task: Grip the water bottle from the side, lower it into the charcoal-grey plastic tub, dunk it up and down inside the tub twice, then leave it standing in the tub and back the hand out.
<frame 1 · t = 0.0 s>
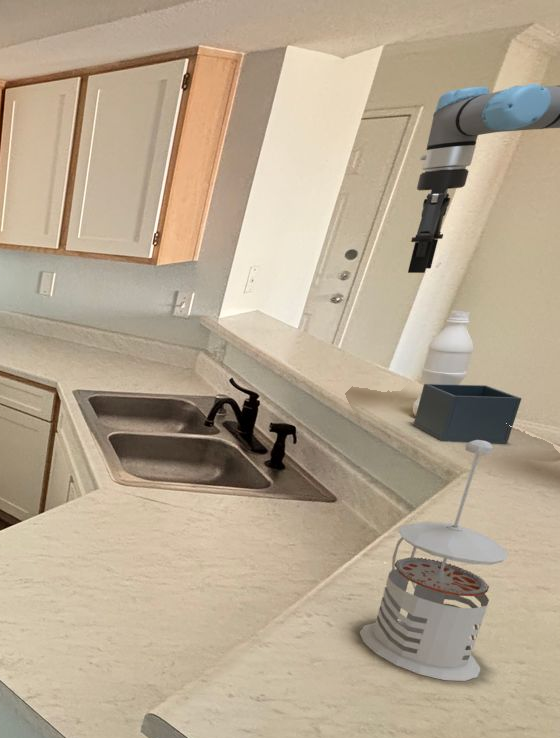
hand: (419, 270, 133), 34 cm above the counter, tool pointing down, fingers open, 13 cm apart
tub: (457, 434, 127), on the counter
water bottle: (430, 419, 138), on the counter
french press: (412, 646, 66), on the counter
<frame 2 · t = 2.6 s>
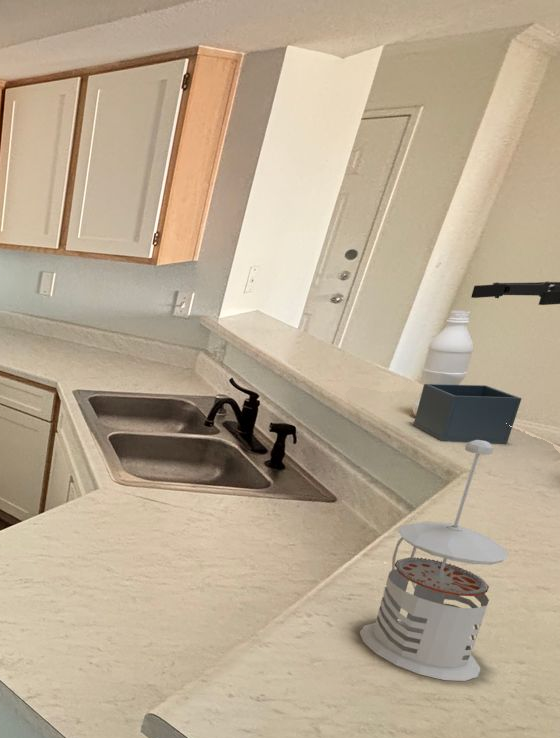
hand: (506, 294, 129), 28 cm above the counter, tool horizontal, fingers open, 13 cm apart
nothing on the counter moved.
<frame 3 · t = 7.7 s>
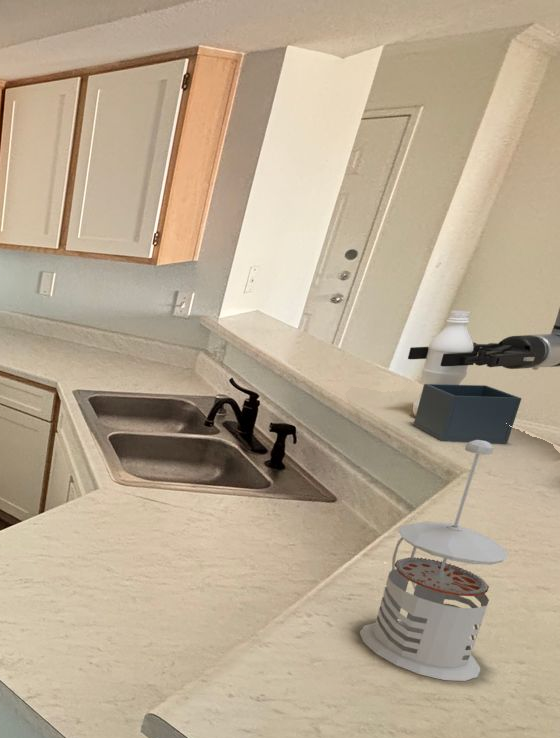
hand: (426, 356, 133), 15 cm above the counter, tool horizontal, fingers closed on water bottle, 7 cm apart
water bottle: (430, 419, 138), on the counter, touching gripper
everything else where it was.
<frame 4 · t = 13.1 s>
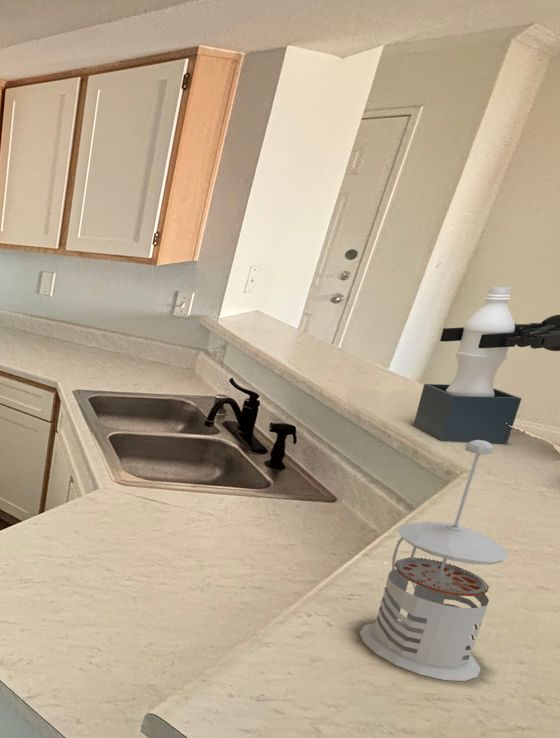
hand: (462, 338, 121), 21 cm above the counter, tool horizontal, fingers closed on water bottle, 7 cm apart
water bottle: (465, 407, 125), point 6 cm above the counter, touching gripper
everything else where it was.
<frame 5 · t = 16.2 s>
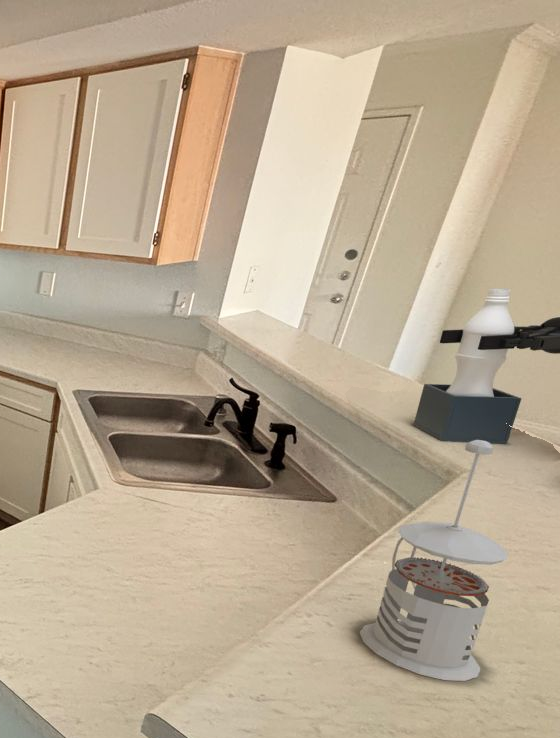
hand: (461, 339, 121), 21 cm above the counter, tool horizontal, fingers closed on water bottle, 7 cm apart
water bottle: (465, 409, 125), point 6 cm above the counter, touching gripper
everything else where it was.
when the fingers open (16 cm above the counter, at t = 18.6 s): water bottle stays where it is, resting on tub.
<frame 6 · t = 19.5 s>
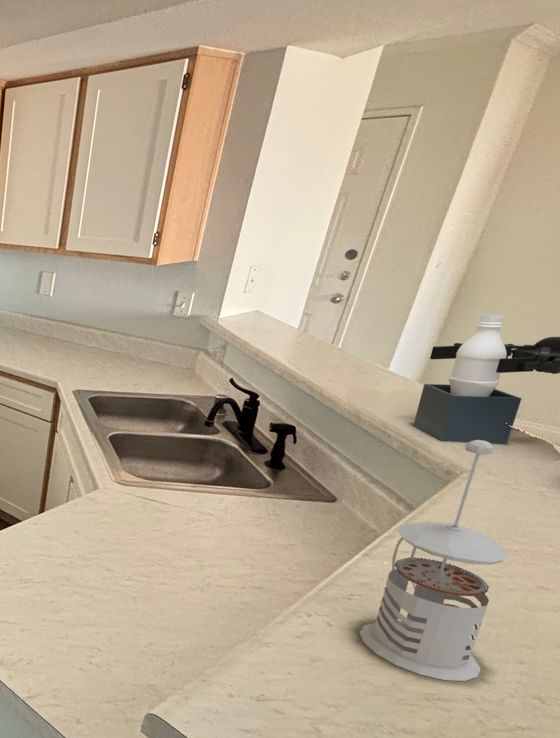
hand: (464, 359, 122), 17 cm above the counter, tool horizontal, fingers open, 13 cm apart
water bottle: (458, 431, 127), point 1 cm above the counter, touching tub
everything else where it was.
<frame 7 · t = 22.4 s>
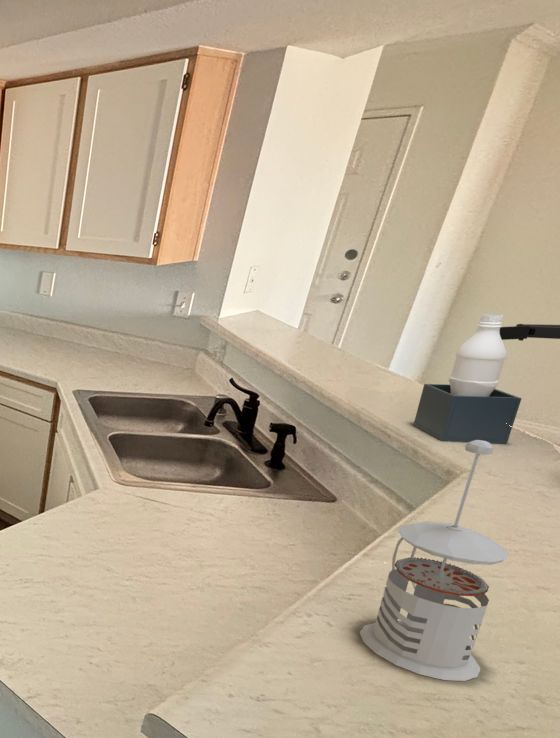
hand: (531, 338, 121), 20 cm above the counter, tool horizontal, fingers open, 13 cm apart
nothing on the counter moved.
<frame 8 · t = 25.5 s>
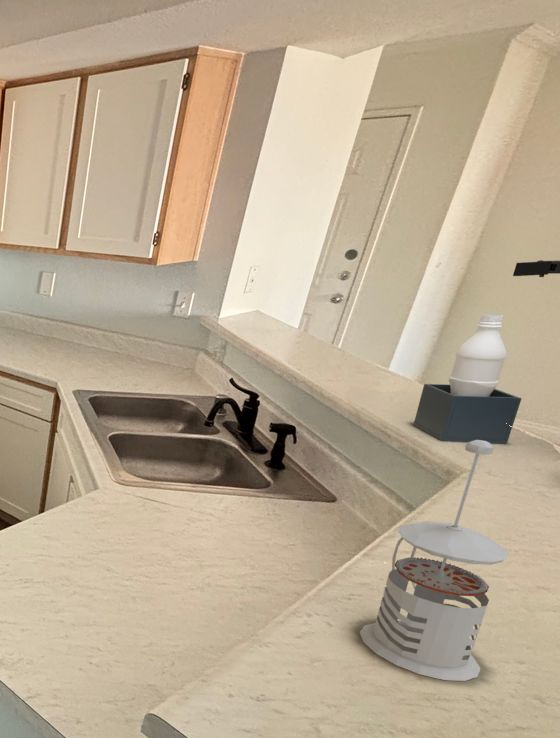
hand: (554, 271, 117), 34 cm above the counter, tool horizontal, fingers open, 13 cm apart
nothing on the counter moved.
at the end: water bottle 0.1 cm off-centre in the tub, point 0.6 cm above the tub's base; water bottle tilted 0°; the gripper is holding nothing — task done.
